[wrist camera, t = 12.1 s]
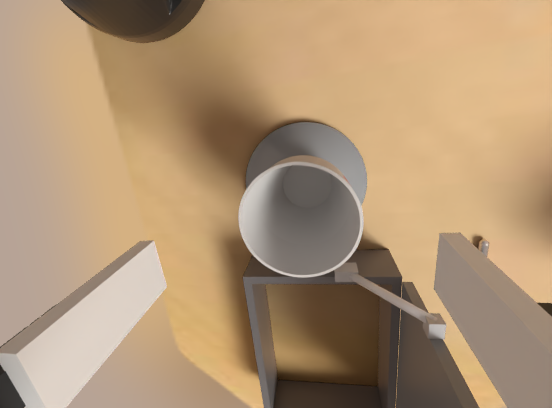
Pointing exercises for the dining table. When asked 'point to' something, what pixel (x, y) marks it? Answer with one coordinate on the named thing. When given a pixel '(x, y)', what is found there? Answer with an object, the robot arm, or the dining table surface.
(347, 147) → the slate coaster
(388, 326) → the case
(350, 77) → the dining table surface
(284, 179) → the cup
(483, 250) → the rod
